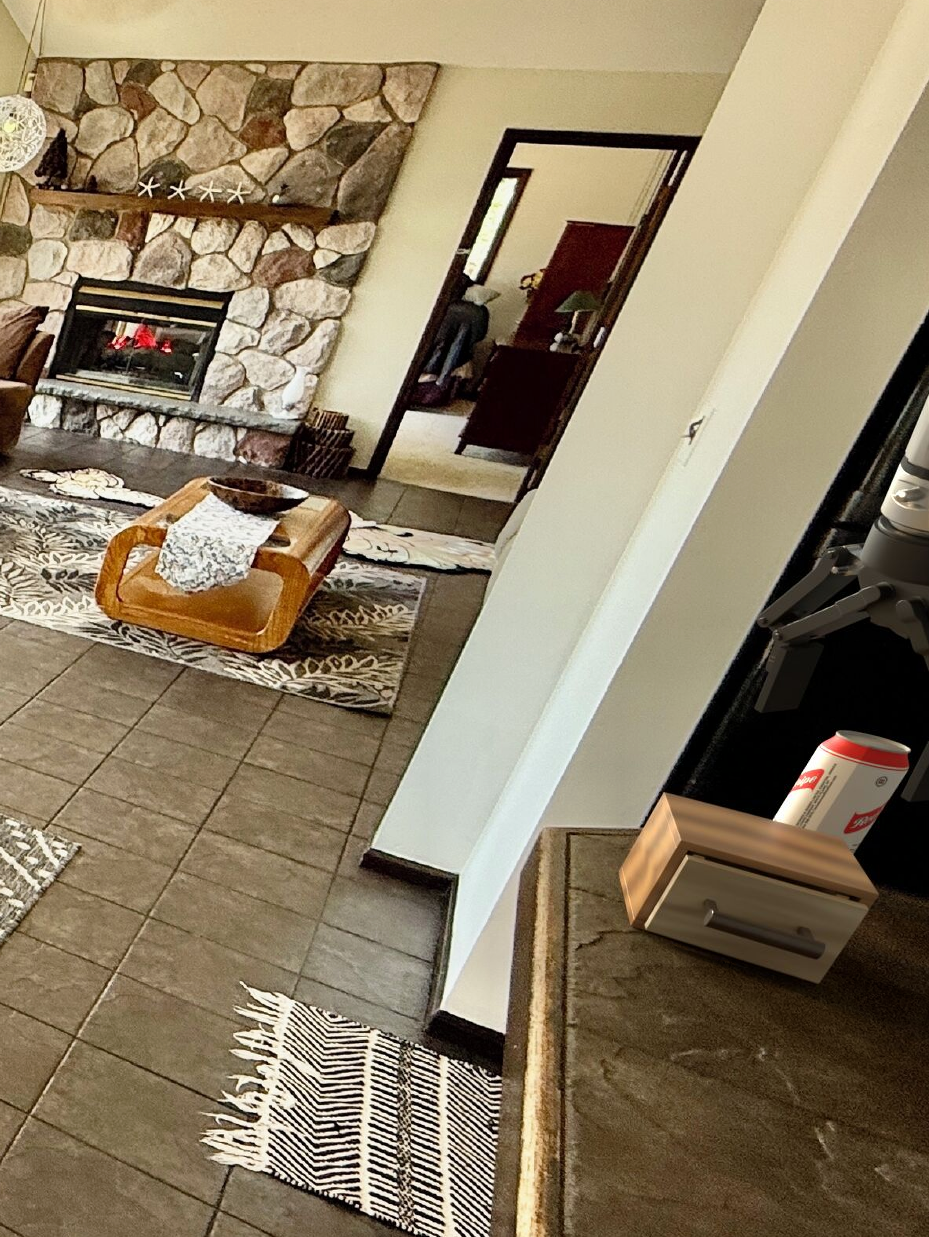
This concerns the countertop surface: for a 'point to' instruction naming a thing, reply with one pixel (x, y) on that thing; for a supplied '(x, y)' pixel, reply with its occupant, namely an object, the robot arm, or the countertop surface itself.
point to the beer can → (846, 786)
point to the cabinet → (733, 854)
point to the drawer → (756, 916)
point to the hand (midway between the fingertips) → (846, 750)
